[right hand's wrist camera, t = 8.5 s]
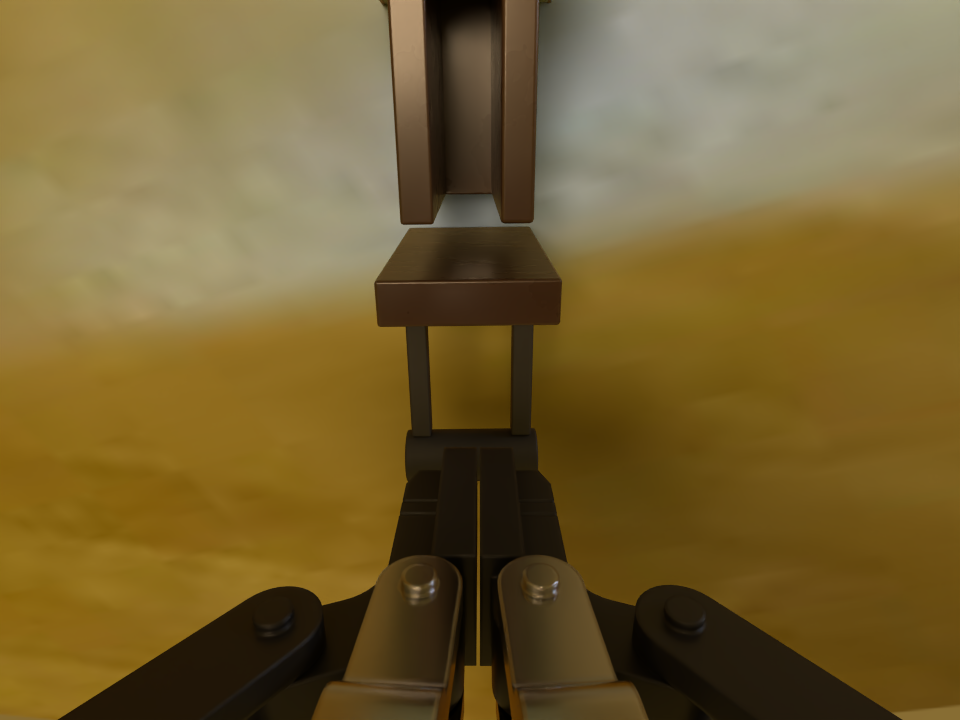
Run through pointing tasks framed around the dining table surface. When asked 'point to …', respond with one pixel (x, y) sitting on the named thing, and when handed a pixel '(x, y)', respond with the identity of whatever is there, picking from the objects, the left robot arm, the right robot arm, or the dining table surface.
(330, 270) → the dining table surface
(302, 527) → the dining table surface
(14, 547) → the dining table surface
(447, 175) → the drawer
